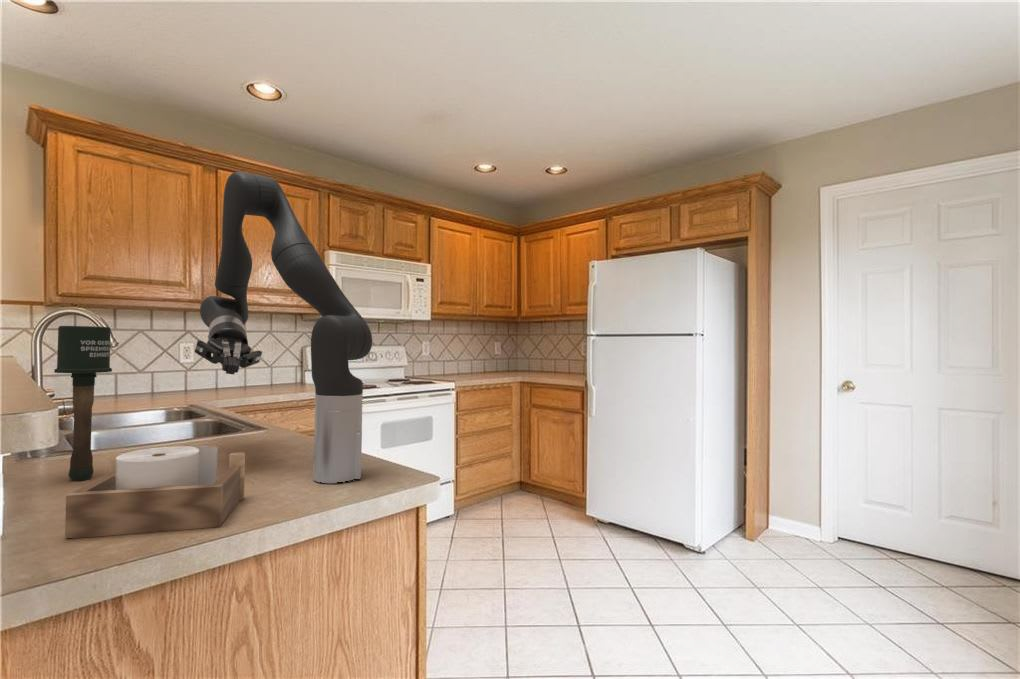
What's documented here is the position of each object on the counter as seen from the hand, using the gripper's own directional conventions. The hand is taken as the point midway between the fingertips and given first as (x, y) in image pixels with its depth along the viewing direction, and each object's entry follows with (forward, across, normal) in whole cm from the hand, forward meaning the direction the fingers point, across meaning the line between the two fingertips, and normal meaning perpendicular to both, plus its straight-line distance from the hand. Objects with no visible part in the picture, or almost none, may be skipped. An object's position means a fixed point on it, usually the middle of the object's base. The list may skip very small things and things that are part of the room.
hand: (231, 369), depth 97 cm
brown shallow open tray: (+25, -7, +15) cm, 30 cm away
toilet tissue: (+24, -7, +16) cm, 30 cm away
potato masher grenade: (-5, -19, +30) cm, 36 cm away
